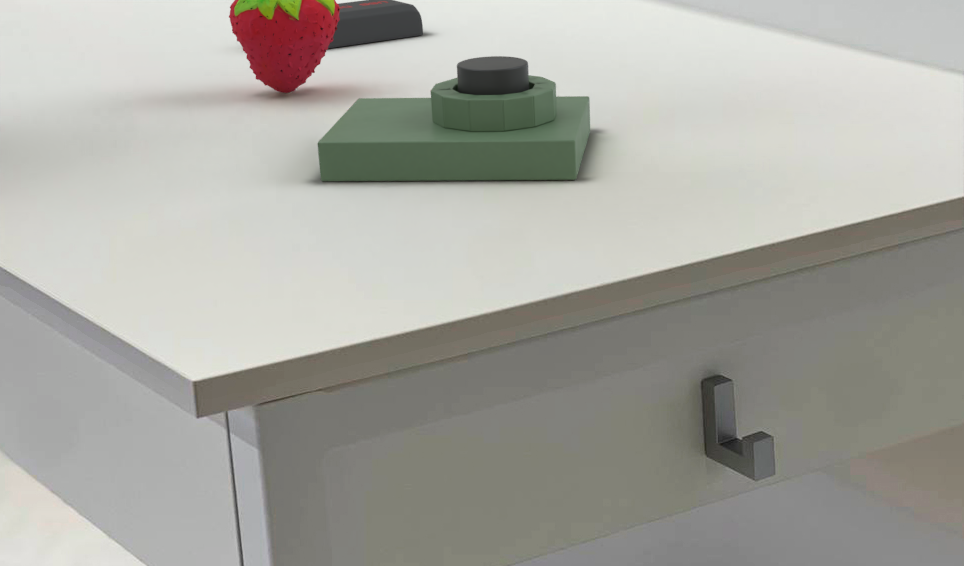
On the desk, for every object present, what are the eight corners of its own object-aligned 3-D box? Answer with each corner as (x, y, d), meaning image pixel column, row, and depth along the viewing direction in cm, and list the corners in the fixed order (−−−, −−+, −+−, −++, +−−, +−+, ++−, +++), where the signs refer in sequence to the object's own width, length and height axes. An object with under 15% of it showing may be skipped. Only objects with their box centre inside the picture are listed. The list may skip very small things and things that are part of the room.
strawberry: (359, 95, 109) (347, -58, 105) (249, 108, 106) (232, -49, 102) (335, 80, 113) (323, -67, 110) (230, 91, 111) (213, -59, 107)
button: (453, 101, 90) (451, 70, 89) (463, 86, 93) (462, 56, 93) (525, 101, 90) (524, 69, 89) (532, 85, 93) (531, 55, 93)
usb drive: (423, 34, 129) (421, 0, 128) (286, 54, 123) (282, 17, 122) (391, 26, 133) (389, -8, 132) (256, 45, 127) (253, 9, 126)
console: (320, 181, 88) (314, 109, 87) (361, 133, 98) (355, 68, 97) (576, 180, 87) (574, 107, 86) (590, 132, 98) (588, 65, 96)
